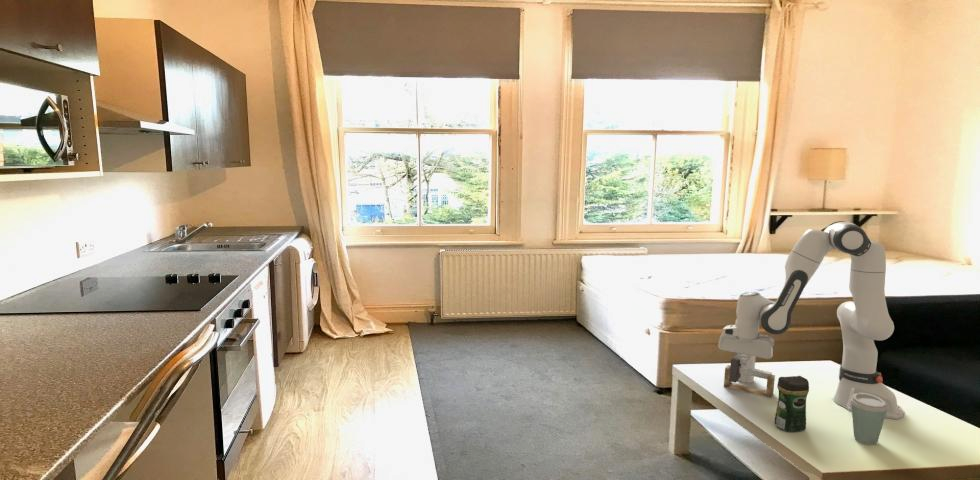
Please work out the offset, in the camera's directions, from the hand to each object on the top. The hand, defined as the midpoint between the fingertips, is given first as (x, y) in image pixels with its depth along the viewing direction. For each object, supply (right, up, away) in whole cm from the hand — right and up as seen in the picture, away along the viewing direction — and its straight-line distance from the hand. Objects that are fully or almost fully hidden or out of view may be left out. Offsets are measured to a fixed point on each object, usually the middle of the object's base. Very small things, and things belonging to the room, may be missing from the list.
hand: (743, 364), depth 232 cm
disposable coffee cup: (+23, -17, -41) cm, 49 cm away
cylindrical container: (+6, -9, +12) cm, 16 cm away
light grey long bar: (+2, -4, -1) cm, 5 cm away
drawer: (+2, -11, 0) cm, 11 cm away
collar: (-2, -7, +3) cm, 8 cm away
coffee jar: (+2, -15, -32) cm, 35 cm away
